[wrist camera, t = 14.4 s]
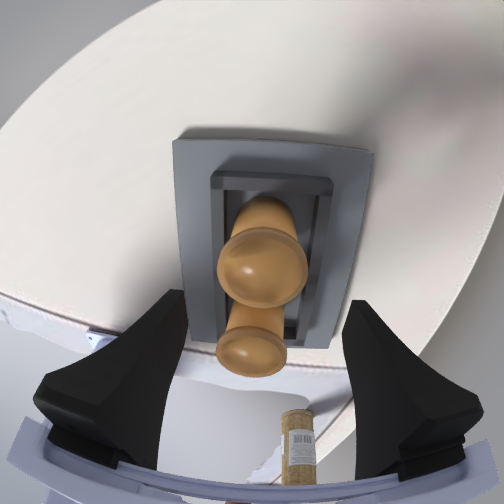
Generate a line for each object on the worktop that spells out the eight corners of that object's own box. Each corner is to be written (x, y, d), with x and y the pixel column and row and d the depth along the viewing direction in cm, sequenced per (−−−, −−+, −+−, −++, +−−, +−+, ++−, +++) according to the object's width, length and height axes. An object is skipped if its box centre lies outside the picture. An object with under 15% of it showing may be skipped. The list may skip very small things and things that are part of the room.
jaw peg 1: (295, 254, 21) (302, 309, 16) (231, 251, 21) (219, 305, 16) (301, 193, 18) (313, 234, 13) (230, 190, 19) (214, 230, 13)
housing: (326, 341, 27) (330, 360, 24) (193, 333, 27) (188, 352, 25) (368, 150, 17) (381, 158, 15) (176, 138, 18) (164, 144, 16)
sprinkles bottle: (274, 417, 35) (271, 504, 24) (293, 404, 33) (295, 499, 21) (300, 424, 36) (302, 505, 25) (320, 411, 34) (326, 500, 22)
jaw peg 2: (292, 318, 23) (290, 375, 18) (238, 322, 24) (226, 377, 19) (284, 272, 21) (281, 330, 16) (225, 279, 22) (206, 334, 17)
